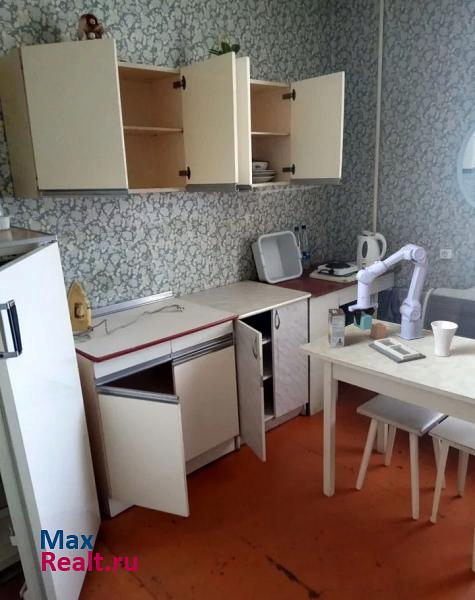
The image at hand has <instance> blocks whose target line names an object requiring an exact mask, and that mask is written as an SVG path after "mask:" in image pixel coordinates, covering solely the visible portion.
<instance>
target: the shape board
mask: <svg viewBox="0 0 475 600" xmlns="http://www.w3.org/2000/svg"><path fill="white" fill-rule="evenodd" d="M368 347H369V348H371V349H372V350H375V351H376V352H378V353H379V354H382V355H383V356H384V357H387V358H388V359H390V360H392V361H393V362H395V363H397V364H403V363H408V362H411V361H417V360H421V359H422V360H423V359H426V358H427V357H426V355H425V354H423V353H421V352H419V351H417V350H415V349H414V348H412V347H410V346H408V345H406V344H404V343H402V342H400V341H398V340H397V339H395V338H392V337H387V338H386V337H385V338H380V339H375V340H373V343H368Z"/></svg>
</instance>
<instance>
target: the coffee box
mask: <svg viewBox="0 0 475 600" xmlns="http://www.w3.org/2000/svg"><path fill="white" fill-rule="evenodd" d="M327 321H328V325H327V326H328V327H327V333H328V334H327V341H328V343H329V346H330V348H344V347H345V331H346V327H345V326H346V313H345V312H344V310H343V308H328V320H327Z"/></svg>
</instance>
